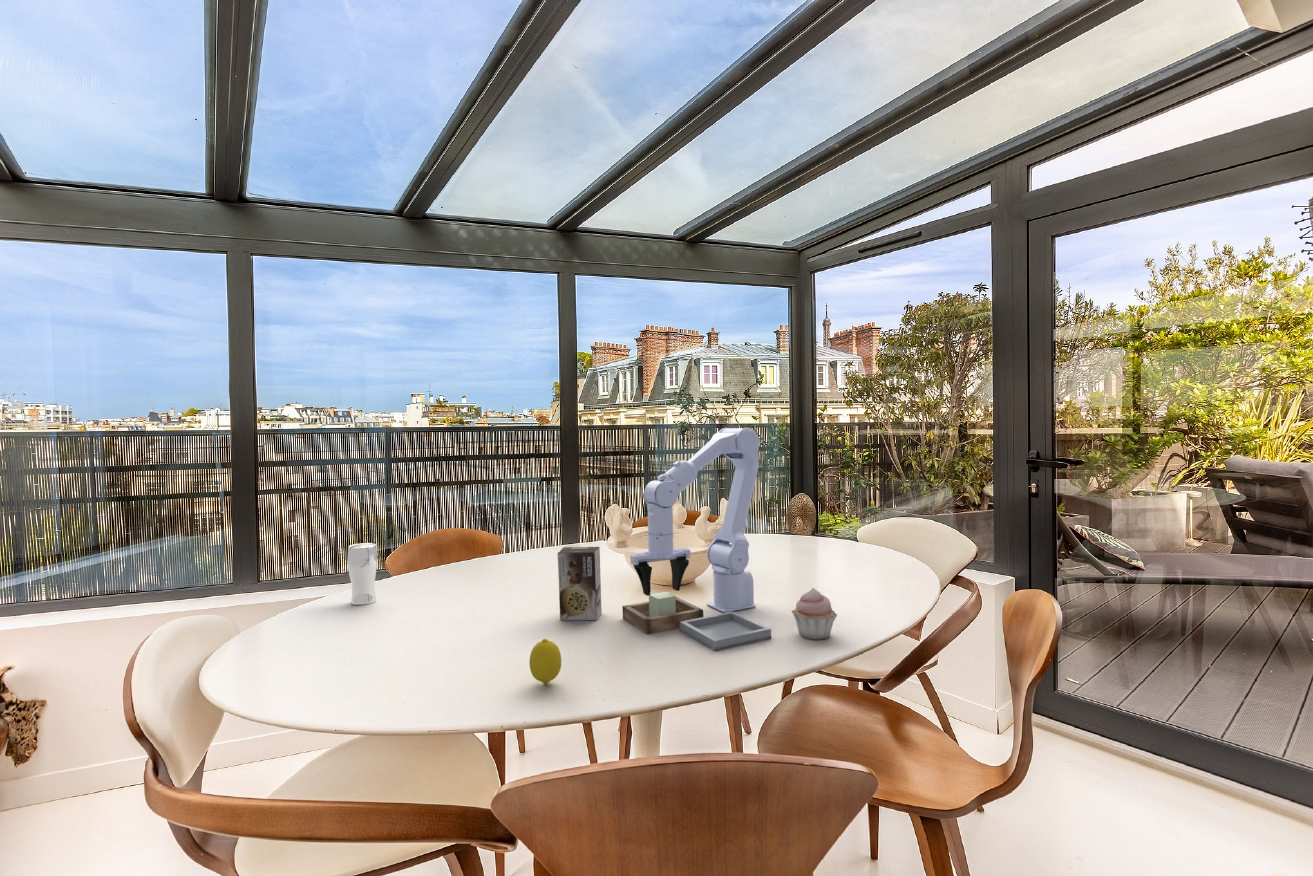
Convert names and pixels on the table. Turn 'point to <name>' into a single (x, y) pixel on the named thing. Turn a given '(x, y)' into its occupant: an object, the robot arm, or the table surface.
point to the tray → (725, 630)
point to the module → (661, 604)
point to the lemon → (545, 661)
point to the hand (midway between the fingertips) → (661, 592)
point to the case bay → (660, 623)
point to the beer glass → (362, 572)
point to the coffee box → (579, 583)
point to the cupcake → (814, 615)
